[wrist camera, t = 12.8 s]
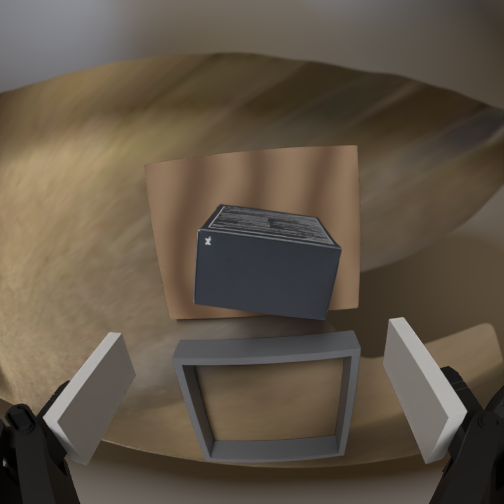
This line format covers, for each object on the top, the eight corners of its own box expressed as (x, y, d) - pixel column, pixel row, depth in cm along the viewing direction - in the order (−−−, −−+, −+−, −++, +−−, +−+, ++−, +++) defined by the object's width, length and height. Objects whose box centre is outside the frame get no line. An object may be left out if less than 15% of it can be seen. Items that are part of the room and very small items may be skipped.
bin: (353, 330, 37) (360, 348, 33) (340, 437, 43) (344, 455, 39) (180, 340, 38) (172, 358, 35) (209, 443, 45) (205, 461, 41)
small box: (212, 262, 33) (189, 308, 23) (217, 202, 31) (194, 224, 21) (309, 275, 33) (325, 325, 23) (320, 216, 31) (344, 244, 21)
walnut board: (353, 145, 30) (356, 145, 29) (354, 302, 36) (358, 307, 34) (149, 164, 32) (144, 165, 30) (174, 313, 37) (170, 319, 36)
